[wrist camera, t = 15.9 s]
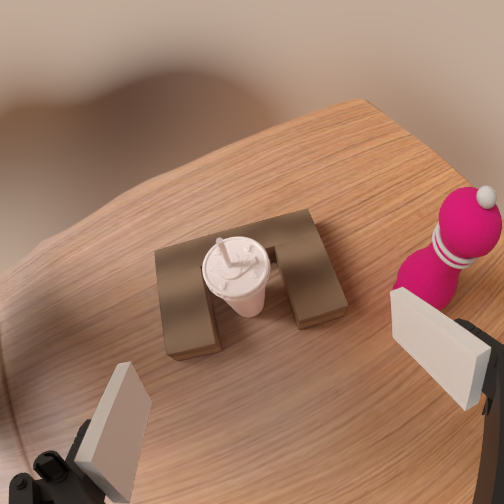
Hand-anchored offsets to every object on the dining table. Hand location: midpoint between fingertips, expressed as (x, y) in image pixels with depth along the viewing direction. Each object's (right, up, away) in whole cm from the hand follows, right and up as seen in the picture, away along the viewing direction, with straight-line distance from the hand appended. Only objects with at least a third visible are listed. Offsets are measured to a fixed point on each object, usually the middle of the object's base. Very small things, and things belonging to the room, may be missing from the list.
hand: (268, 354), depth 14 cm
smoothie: (-1, -1, +23) cm, 23 cm away
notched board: (-1, 0, +24) cm, 24 cm away
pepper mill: (+19, -1, +21) cm, 28 cm away
